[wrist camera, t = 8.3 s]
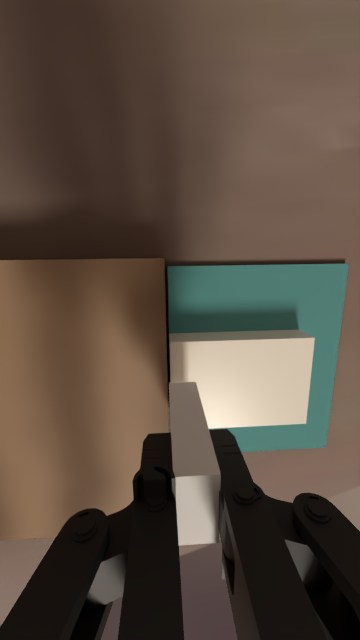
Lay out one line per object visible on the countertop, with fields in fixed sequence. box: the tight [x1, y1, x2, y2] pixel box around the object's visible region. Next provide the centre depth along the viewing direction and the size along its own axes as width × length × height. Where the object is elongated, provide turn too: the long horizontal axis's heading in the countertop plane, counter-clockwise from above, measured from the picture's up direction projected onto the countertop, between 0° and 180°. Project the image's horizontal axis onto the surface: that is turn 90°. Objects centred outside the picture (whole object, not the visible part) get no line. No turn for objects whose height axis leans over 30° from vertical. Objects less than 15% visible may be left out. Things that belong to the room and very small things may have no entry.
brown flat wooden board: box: [0, 258, 169, 541], centre depth 17 cm, size 12×18×3 cm, turn 1°
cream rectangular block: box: [169, 330, 315, 429], centre depth 18 cm, size 9×6×2 cm, turn 91°
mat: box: [167, 264, 349, 452], centre depth 19 cm, size 12×14×1 cm
